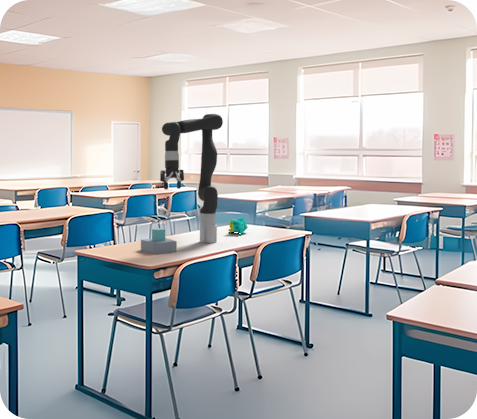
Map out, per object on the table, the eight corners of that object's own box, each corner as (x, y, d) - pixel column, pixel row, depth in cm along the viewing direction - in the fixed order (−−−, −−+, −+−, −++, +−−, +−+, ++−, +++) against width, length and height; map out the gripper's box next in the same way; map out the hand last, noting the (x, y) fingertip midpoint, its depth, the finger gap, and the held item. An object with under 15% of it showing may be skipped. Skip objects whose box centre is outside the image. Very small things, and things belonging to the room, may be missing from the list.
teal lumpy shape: (221, 222, 359) (236, 212, 365) (229, 237, 361) (244, 228, 366) (231, 220, 345) (246, 210, 351) (239, 236, 347) (254, 226, 353)
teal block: (159, 239, 288) (159, 228, 288) (165, 240, 285) (165, 229, 284) (152, 240, 285) (152, 229, 284) (157, 241, 281) (157, 230, 281)
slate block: (164, 248, 295) (164, 237, 295) (176, 252, 284) (176, 241, 283) (140, 250, 287) (140, 239, 287) (152, 254, 276) (152, 243, 275)
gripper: (178, 159, 300) (178, 188, 302) (157, 159, 291) (157, 189, 292) (186, 159, 295) (186, 188, 297) (165, 159, 285) (165, 190, 287)
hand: (172, 189), depth 294 cm, fingers open, 8 cm apart
